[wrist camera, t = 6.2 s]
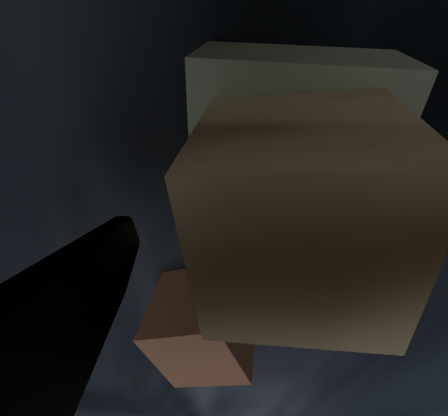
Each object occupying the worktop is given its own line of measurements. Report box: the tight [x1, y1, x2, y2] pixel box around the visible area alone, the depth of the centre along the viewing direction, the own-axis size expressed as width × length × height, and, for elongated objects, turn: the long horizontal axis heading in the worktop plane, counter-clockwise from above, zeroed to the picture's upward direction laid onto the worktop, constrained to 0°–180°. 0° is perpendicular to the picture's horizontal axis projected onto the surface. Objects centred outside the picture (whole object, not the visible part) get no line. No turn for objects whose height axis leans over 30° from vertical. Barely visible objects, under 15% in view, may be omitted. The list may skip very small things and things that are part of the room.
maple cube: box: [164, 88, 448, 356], centre depth 8 cm, size 5×5×5 cm
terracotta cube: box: [133, 268, 254, 388], centre depth 19 cm, size 5×5×5 cm
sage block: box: [185, 41, 439, 137], centre depth 12 cm, size 7×7×4 cm
